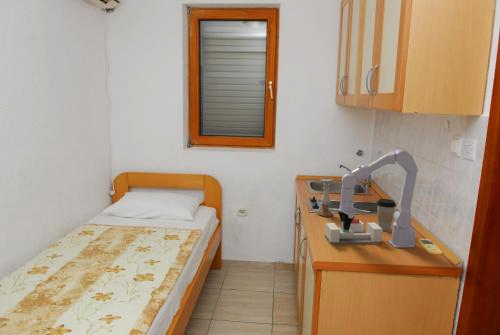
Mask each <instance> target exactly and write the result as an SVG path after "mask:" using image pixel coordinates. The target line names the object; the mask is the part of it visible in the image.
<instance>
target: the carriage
mask: <svg viewBox="0 0 500 335" xmlns="http://www.w3.org/2000/svg"><path fill="white" fill-rule="evenodd" d="M338 228H339V229H340V234H339V238H340V239H341V238H352V236H354V233H353V232H352V231H351V230H350V229H349V230H344V223H343V221H340V227H338Z"/></svg>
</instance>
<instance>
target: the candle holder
mask: <svg viewBox="0 0 500 335" xmlns="http://www.w3.org/2000/svg"><path fill="white" fill-rule="evenodd" d="M319 181H320V182H321V183H322V184H323V187H322V190H323V194H322V196H321V199H320V203H321V205H320V206H321V209H319V210H317V211H316V214H317V215H318V216H320V215H321V217H332V216H333V214H334V212H332V210H331V209H330V203H331V197H330V195H329V192H330V185H331V183H334V179H332V178H329V177H322V178H321V177H320V178H319Z"/></svg>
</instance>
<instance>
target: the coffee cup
mask: <svg viewBox="0 0 500 335" xmlns="http://www.w3.org/2000/svg"><path fill="white" fill-rule="evenodd" d="M375 205H376V206H377V209H376V210H377V214H376V216H377V225H378V226H380V227H381V228H382V232H389V231H390V230H391V228H392V224H393V223H392V222H393V220H394V218H393V213H394V212H395V209H396V208H397V204H396V202H395V200H393V199H389V198H379V199H377V201H376V204H375ZM395 207H396V208H395Z"/></svg>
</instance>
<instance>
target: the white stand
mask: <svg viewBox="0 0 500 335" xmlns="http://www.w3.org/2000/svg"><path fill="white" fill-rule="evenodd" d="M339 228H340V227H338V225H336V223H335V222H326V223H325V231H324V232H325V234H324V238H325V239H326V240H327V243H328V244H330V245H334V246H335V245H337V246H338V245H382V244H383V240H382V239H383V231H382V228H381V227H380V226H378V223H376V222H366V228H365V229H366V230H365V232H363V233H354V236H352V238H341V239H340V238H339V234H340V229H339Z"/></svg>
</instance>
